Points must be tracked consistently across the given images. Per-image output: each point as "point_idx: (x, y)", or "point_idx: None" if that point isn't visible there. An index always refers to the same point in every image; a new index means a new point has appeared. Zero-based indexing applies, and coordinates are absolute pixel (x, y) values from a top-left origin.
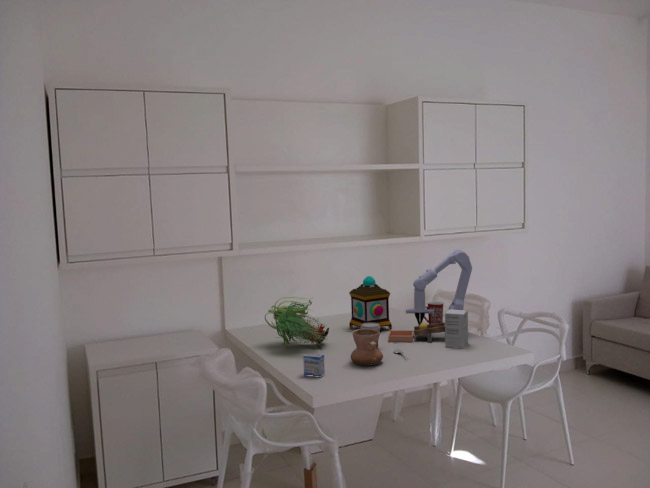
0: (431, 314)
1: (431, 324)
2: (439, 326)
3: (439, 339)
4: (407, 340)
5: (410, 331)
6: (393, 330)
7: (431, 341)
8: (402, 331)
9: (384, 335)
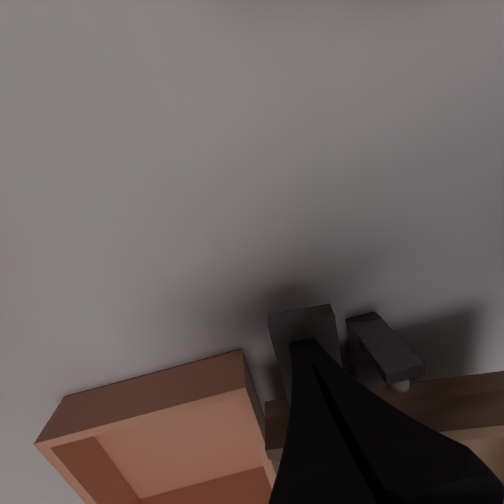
0: None
1: (461, 438)
2: None
3: (430, 363)
4: (248, 480)
5: (223, 395)
6: (68, 437)
7: None
8: (154, 413)
9: (12, 397)
